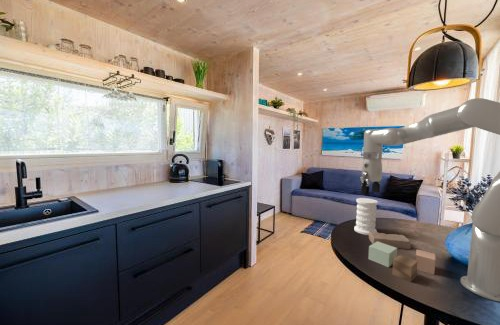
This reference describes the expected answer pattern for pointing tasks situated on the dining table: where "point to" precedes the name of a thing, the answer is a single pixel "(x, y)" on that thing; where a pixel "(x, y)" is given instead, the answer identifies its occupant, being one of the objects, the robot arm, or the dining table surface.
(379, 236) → the brick
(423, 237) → the dining table surface
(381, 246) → the base block
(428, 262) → the terracotta cube
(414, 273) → the walnut cube
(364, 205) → the decorative container
